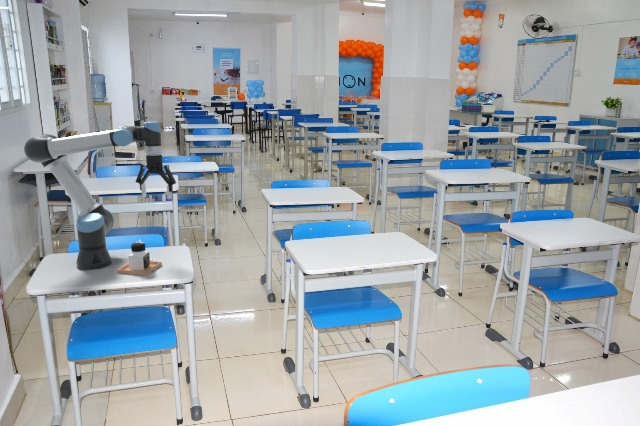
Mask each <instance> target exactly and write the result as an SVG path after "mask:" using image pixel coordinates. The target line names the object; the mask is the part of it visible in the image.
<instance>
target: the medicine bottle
mask: <svg viewBox="0 0 640 426" xmlns="http://www.w3.org/2000/svg"><path fill="white" fill-rule="evenodd" d="M130 246H131V247H130V248H131V253H130V254H128V256H127V258H128V263H129V270H135V271H145V270H146V269H147V268H148V267H149V266H150V259H151V258H150V251H149V250H148V251H147V250H146V243H145V242H142V241H136V242H133V243H131V244H130Z"/></svg>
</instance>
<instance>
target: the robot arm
mask: <svg viewBox="0 0 640 426" xmlns="http://www.w3.org/2000/svg"><path fill="white" fill-rule="evenodd" d="M161 130H162V129H161V125H160V122H159V121H144V122H143V125H140V126H139V125H135V126H134V125H133V126H132V125H123V126H122V125H120V126H118V127H117V128H116V129H112V130H105V131H100V132H91V133H85V134H79V135H72V136H67V137H65V136H64V137H58V136H56V135H54V134H49V133H46V134H45V133H44V134H41V135H37V136H33V137H31V138H29V139H28V140H26V142H25V144H24V147H23V152H24V155H25V157H27V158H28V159H29V160H30V161H32V162H34V163H37V164H38V163H40V164H41V165H42V167H44V169H48V170H50V172H51V173H52V175H53V176H54V177H55V179H56V180H57V182H58V183H59V184H60V186H61V187H62V188H63V190H64V192H65V193H66V195H67V196H68V197H69V199H70V200H71V201H72V203H73V204H74V205H75V207H76V208H77V210H78V211H79V216H78V217H77V219H76V224H75V226H76V231H77V240H78V242H77V243H78V248H79V249H78V254H77V258H76V268H77V269H80V270H85V271H86V270H98V269H99V270H100V269H103V268H106V267H108V266H110V265H111V264H112V256H111V255H110V253H109V250H108V248H107V241H106V234H108V233H109V232H110V231H111V230H112V229H113V226H114V224H115V218H114V215H113V213H112V212H111V211H109V209H106V208H105V207H104V206H103V204H102V203H99V202H97V201H96V200H95V199H94V197H93V196H92V194H91V193H90V191H89V190H88V188H87V187H86V186H85V184H84V183H83V182H82V180H81V178H80V177H79V176H78V174H77V172H76V171H75V170H74V168H73V167H72V166H71V164H70V163H69V161H68V155H73V154H78V153H86V152H91V151H97V150H103V149H108V148H109V149H110V148H117V147H127V146H129V145H131V144H133V143H144V148H145V154H146V155H145V161H146V164H145V163H142V164H140V169H139V171H138V174H137V176H136V179H135V183H138V184H139V190H140V191H141V198H146V197H147V189H146V187H147V186H146V185H147V184H146V183H145V182H146V181H147V180H148V178H149V176H150V175H151V174H152V175H153V174H154V175H159V176H160V177H161V178H162V179H163V181H164V182H165V183H166V184H167V185H166V195H167V200H171V199H172V198H173V197H172V196H173V195H172V192H173V191H174V188H173V185H175V184H177V181H176V179H175V177H174V175H173V174H172V173H173V172H172V171H171V170H170V165H169V164H163V163H164V162H163V155H162V154H163V149H162V147H163V146H162V131H161ZM146 169H147V170H146ZM145 171H146V172H145Z"/></svg>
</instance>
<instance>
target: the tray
mask: <svg viewBox="0 0 640 426" xmlns="http://www.w3.org/2000/svg"><path fill="white" fill-rule="evenodd" d="M162 263H163V262H162V261H157V260H156V261H155V260H154V261H153V260H152V261H150V266H149V267H148V268H147V269H146V270H145V271H135V270H129V262H128V263H125V264H124V265H122V266H121V267H119V268H117V269H116V273H117V274H124V275H125V274H127V275H137V276H147V275H149V274H150V273H152V272H153V271H155V270H157V269H158V268H160V267H161V266H162Z"/></svg>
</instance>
